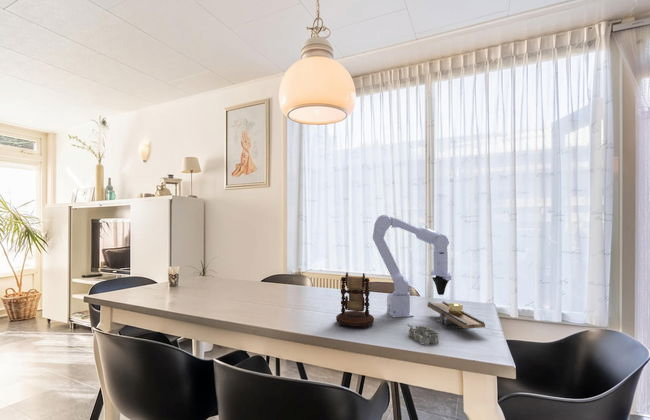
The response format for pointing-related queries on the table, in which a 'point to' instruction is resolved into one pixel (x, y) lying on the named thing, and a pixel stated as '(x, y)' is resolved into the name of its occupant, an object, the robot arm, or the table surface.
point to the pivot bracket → (446, 323)
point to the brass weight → (456, 309)
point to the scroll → (355, 302)
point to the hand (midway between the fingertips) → (440, 294)
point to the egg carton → (424, 334)
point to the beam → (463, 320)
